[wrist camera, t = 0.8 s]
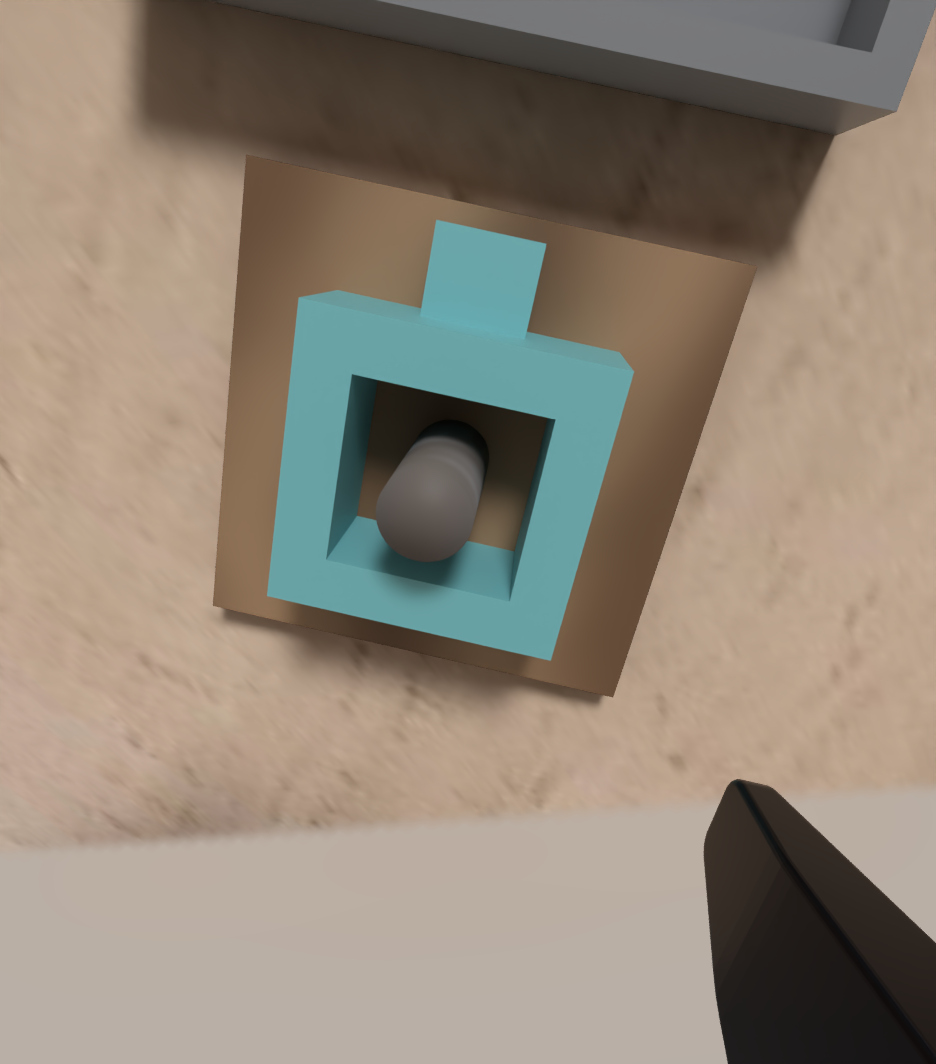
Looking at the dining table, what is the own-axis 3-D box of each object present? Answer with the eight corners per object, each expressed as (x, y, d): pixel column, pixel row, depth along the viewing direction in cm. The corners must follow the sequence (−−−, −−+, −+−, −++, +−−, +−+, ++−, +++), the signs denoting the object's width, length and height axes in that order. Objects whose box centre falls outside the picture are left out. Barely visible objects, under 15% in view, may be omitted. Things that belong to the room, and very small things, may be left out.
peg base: (745, 265, 17) (831, 271, 12) (610, 678, 22) (630, 808, 17) (262, 159, 17) (146, 122, 12) (226, 590, 22) (131, 693, 17)
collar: (643, 265, 17) (663, 268, 14) (549, 603, 20) (550, 661, 17) (348, 201, 17) (310, 191, 14) (305, 548, 20) (266, 595, 17)
